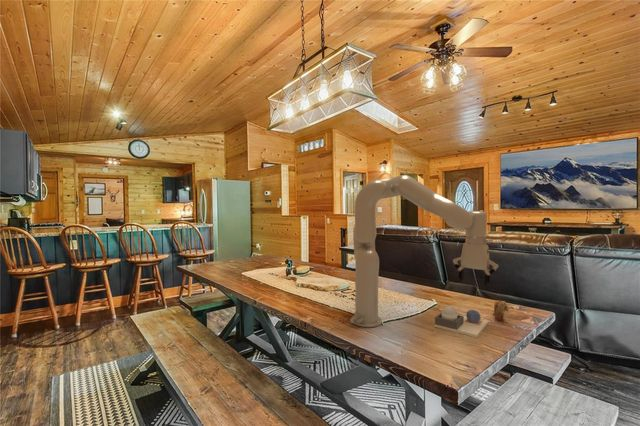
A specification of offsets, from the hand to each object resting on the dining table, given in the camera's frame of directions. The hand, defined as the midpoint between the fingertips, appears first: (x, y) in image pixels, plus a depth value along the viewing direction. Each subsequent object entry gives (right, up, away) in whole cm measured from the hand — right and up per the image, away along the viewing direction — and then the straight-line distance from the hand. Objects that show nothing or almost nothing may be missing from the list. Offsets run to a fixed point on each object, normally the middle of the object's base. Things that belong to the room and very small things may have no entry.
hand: (473, 282), depth 134 cm
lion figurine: (+15, -17, +7) cm, 24 cm away
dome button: (-11, -16, -2) cm, 19 cm away
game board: (-5, -18, 0) cm, 18 cm away
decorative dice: (0, -17, +1) cm, 17 cm away
